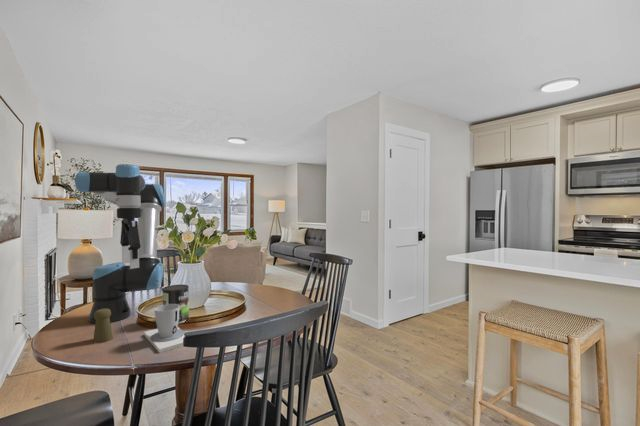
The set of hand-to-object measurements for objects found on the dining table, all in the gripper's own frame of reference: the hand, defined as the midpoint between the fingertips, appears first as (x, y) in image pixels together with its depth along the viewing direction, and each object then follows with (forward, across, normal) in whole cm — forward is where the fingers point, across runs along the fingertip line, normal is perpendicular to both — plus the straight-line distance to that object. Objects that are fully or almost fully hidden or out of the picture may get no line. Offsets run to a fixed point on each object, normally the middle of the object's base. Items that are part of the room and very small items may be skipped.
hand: (130, 265), depth 116 cm
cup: (+25, +10, +9) cm, 29 cm away
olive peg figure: (+27, -6, -8) cm, 29 cm away
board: (+27, +10, +9) cm, 30 cm away
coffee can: (+27, -8, +18) cm, 33 cm away
